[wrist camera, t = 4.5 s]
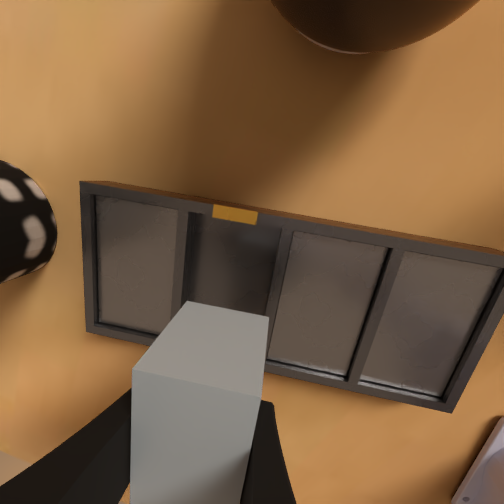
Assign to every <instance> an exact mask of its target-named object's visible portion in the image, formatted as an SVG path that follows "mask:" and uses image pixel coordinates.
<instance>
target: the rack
mask: <svg viewBox="0 0 504 504" xmlns="http://www.w3.org/2000/svg"><path fill="white" fill-rule="evenodd" d="M79 183H80V205H81V228H82V251H83V274H84V297H85V320H86V332H90V333H94V334H99V335H103V336H107V337H112V338H116V339H121V340H125V341H130V342H134V343H139V344H143V345H148V346H151V345H152V344H153V342H154V341H155V340H156V339H157V338H158V336H159V335H160V334H161V333H162V331H163V330H164V329H165V328H166V326H167V325H168V324H169V323H170V321H171V320H172V319H173V318H174V316H175V315H176V314H177V313H178V311H179V310H180V309H181V308H182V307H183V305H184V304H185V303H186V302H187V301H191V302H196V303H201V304H206V305H211V306H216V307H221V308H226V309H231V310H236V311H241V312H246V313H251V314H256V315H261V316H266V317H269V324H268V334H267V344H266V355H265V365H264V372H268V373H273V374H277V375H282V376H286V377H291V378H295V379H300V380H304V381H309V382H313V383H318V384H322V385H326V386H331V387H335V388H340V389H344V390H349V391H353V392H358V393H362V394H367V395H371V396H376V397H380V398H385V399H389V400H394V401H398V402H402V403H407V404H411V405H416V406H420V407H425V408H429V409H434V410H438V411H443V412H447V413H452V412H453V410H454V408H455V406H456V404H457V402H458V401H459V399H460V397H461V395H462V393H463V391H464V389H465V387H466V385H467V383H468V381H469V379H470V377H471V375H472V373H473V372H474V370H475V368H476V366H477V364H478V362H479V360H480V358H481V356H482V354H483V352H484V350H485V348H486V346H487V344H488V342H489V341H490V339H491V337H492V335H493V333H494V331H495V329H496V327H497V325H498V323H499V321H500V319H501V317H502V315H503V313H504V252H502V251H499V250H496V249H492V248H487V247H481V246H475V245H470V244H464V243H458V242H452V241H447V240H441V239H435V238H430V237H424V236H418V235H413V234H407V233H401V232H395V231H390V230H384V229H378V228H373V227H367V226H361V225H355V224H350V223H344V222H338V221H333V220H327V219H321V218H316V217H310V216H304V215H298V214H293V213H287V212H281V211H276V210H270V209H264V208H258V207H253V206H247V205H241V204H236V203H230V202H224V201H219V200H213V199H207V198H201V197H196V196H190V195H184V194H179V193H173V192H167V191H162V190H156V189H150V188H144V187H139V186H133V185H127V184H122V183H116V182H110V181H79Z"/></svg>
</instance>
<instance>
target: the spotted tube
mask: <svg viewBox="0 0 504 504" xmlns="http://www.w3.org/2000/svg"><path fill="white" fill-rule="evenodd" d="M56 239H57V229H56V221H55V218H54V214H53V211H52V209H51V206H50V204H49V202H48V200H47V198H46V197H45V195H44V194H43V192H42V191H41V189H40V188H39V187H38V185H37V184H36V183H35V182H34V181H33V180H32V179H31V178H30V177H29V176H28V175H26V174H25V173H24V172H23V171H22V170H20V169H18V168H17V167H15V166H13V165H11V164H9V163H7V162H4V161H1V160H0V284H1V283H4V282H6V281H9V280H12V279H15V278H17V277H20V276H23V275H26V274H28V273H31V272H34V271H36V270H38V269H40V268H41V267H43V266H44V265H45V264H46V263H47V262H48V261H49V259H50V258H51V256H52V254H53V252H54V249H55V246H56Z"/></svg>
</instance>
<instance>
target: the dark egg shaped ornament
mask: <svg viewBox="0 0 504 504" xmlns="http://www.w3.org/2000/svg"><path fill="white" fill-rule="evenodd" d="M479 1H480V0H271V2H272V3H273V5H274V6H275V7H276V9H277V10H278V11H279V12H280V14H281V15H282V16H283V17H284V18H285V19H286V20H287V21H288V22H289V23H290V24H291V25H292V26H293V27H294V28H295V29H296V30H297V31H298V32H300V33H301V34H302V35H303V36H304V37H306V38H307V39H308V40H310V41H311V42H313V43H315V44H317V45H319V46H321V47H323V48H326V49H328V50H331V51H335V52H340V53H347V54H364V53H373V52H382V51H388V50H393V49H397V48H401V47H404V46H407V45H410V44H412V43H415V42H418V41H420V40H422V39H424V38H426V37H428V36H430V35H432V34H434V33H436V32H438V31H440V30H441V29H443V28H445V27H446V26H448V25H449V24H451V23H452V22H454V21H455V20H456V19H458V18H459V17H460V16H462V15H463V14H464V13H466V12H467V11H468V10H469V9H471V8H472V7H473V6H474V5H475V4H476V3H478V2H479Z"/></svg>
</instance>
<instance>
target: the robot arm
mask: <svg viewBox="0 0 504 504" xmlns="http://www.w3.org/2000/svg"><path fill="white" fill-rule="evenodd" d="M131 406H132V388H131V389H129V390H128V391H127V392H126V393H125V394H124V395H123V396H121V397H120V398H119V399H118V400H117V401H115V402H114V403H113V404H112V405H111V406H109V407H108V408H107V409H106V410H104V411H103V412H102V413H101V414H100V415H98V416H97V417H96V418H95V419H93V420H92V421H91V422H90V423H88V424H87V425H86V426H85V427H83V428H82V429H81V430H79V431H78V432H77V433H75V434H74V435H73V436H71V437H70V438H69V439H67V440H66V441H65V442H63V443H62V444H61V445H59V446H58V447H57V448H55V449H54V450H53V451H51V452H50V453H48V454H47V455H46V456H44V457H43V458H41V459H40V460H39V461H37V462H36V463H34V464H33V465H31V466H30V467H28V468H27V469H25V470H24V471H23V472H21V473H20V474H18V475H17V476H15V477H14V478H12V479H11V480H9V481H8V482H6V483H5V484H3V485H1V486H0V504H118V503H119V501H120V499H121V497H122V496H123V494H124V492H125V490H126V488H127V486H128V484H129V483H130V463H131ZM240 504H296V501H295V497H294V494H293V491H292V487H291V484H290V480H289V477H288V473H287V469H286V465H285V461H284V457H283V453H282V449H281V445H280V440H279V435H278V430H277V425H276V419H275V411H274V405H273V404H272V402H267V401H263V400H261V401H260V406H259V411H258V416H257V421H256V426H255V431H254V435H253V440H252V445H251V450H250V455H249V460H248V465H247V469H246V474H245V479H244V484H243V489H242V494H241V499H240ZM451 504H504V417H502V418H501V419H500V420H499V421H498V423H497V425H496V426H495V428H494V430H493V431H492V433H491V435H490V436H489V438H488V440H487V441H486V443H485V445H484V446H483V448H482V450H481V451H480V453H479V455H478V456H477V458H476V460H475V461H474V463H473V465H472V466H471V468H470V470H469V472H468V473H467V475H466V477H465V478H464V480H463V482H462V483H461V485H460V487H459V488H458V490H457V492H456V493H455V495H454V497H453V498H452V500H451Z"/></svg>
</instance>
